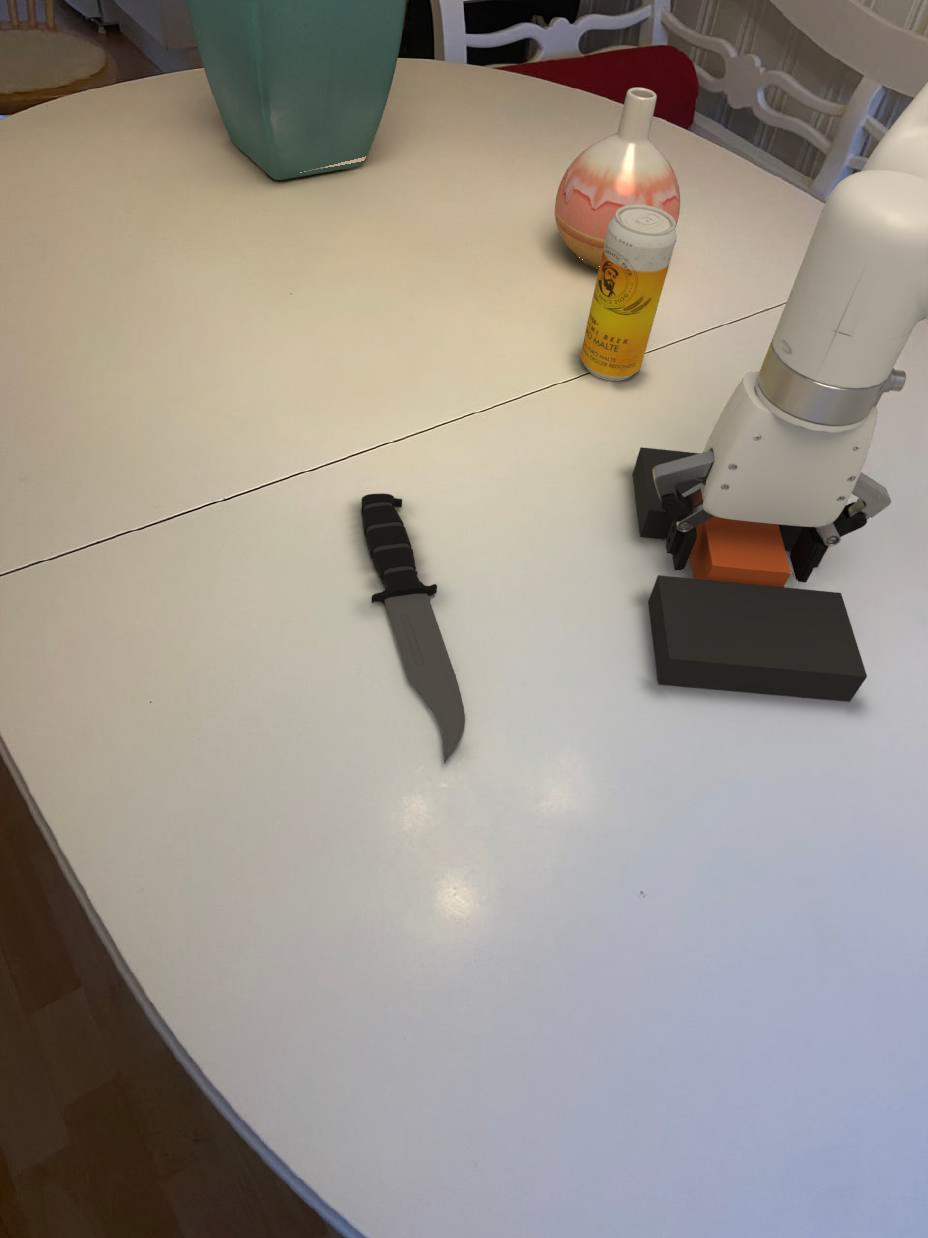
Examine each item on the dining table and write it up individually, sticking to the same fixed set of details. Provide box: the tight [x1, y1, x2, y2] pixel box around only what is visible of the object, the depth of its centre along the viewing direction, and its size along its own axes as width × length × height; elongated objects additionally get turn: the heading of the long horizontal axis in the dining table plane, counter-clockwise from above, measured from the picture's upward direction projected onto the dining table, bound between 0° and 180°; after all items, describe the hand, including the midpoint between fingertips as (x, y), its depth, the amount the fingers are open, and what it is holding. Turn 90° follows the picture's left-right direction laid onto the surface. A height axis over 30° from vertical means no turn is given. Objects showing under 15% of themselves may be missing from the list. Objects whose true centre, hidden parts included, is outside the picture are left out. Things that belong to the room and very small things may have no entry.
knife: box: [361, 492, 466, 765], centre depth 67 cm, size 25×2×5 cm
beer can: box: [580, 205, 678, 382], centre depth 86 cm, size 6×6×15 cm
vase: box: [554, 87, 681, 271], centre depth 100 cm, size 14×14×18 cm
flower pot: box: [185, 0, 407, 181], centre depth 106 cm, size 20×20×28 cm
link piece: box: [689, 516, 792, 587], centre depth 72 cm, size 6×6×4 cm
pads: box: [632, 446, 868, 703], centre depth 73 cm, size 14×23×3 cm, turn 178°
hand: (736, 563), depth 73 cm, fingers open, 9 cm apart
